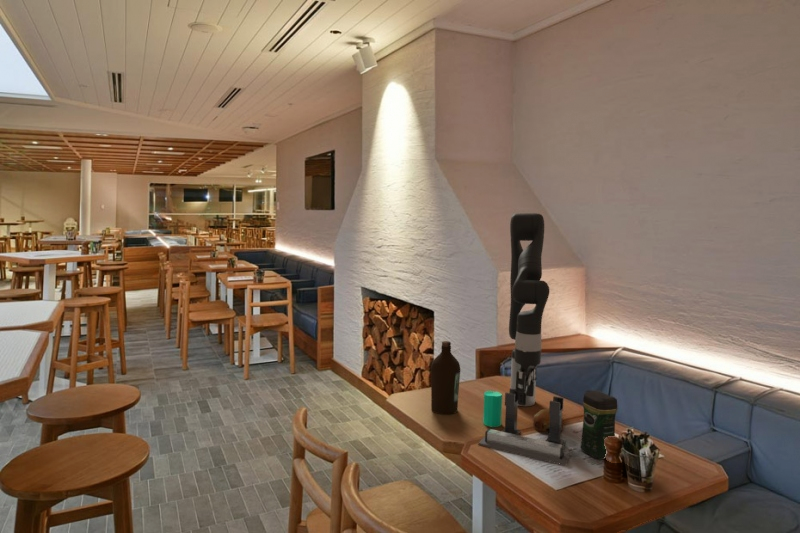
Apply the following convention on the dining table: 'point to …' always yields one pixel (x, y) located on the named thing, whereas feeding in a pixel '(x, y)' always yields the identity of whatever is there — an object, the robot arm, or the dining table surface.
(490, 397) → the candle
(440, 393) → the olive oil
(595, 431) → the coffee jar
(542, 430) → the bread roll
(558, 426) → the post pair
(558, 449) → the rail
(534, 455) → the mat
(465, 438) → the dining table surface
